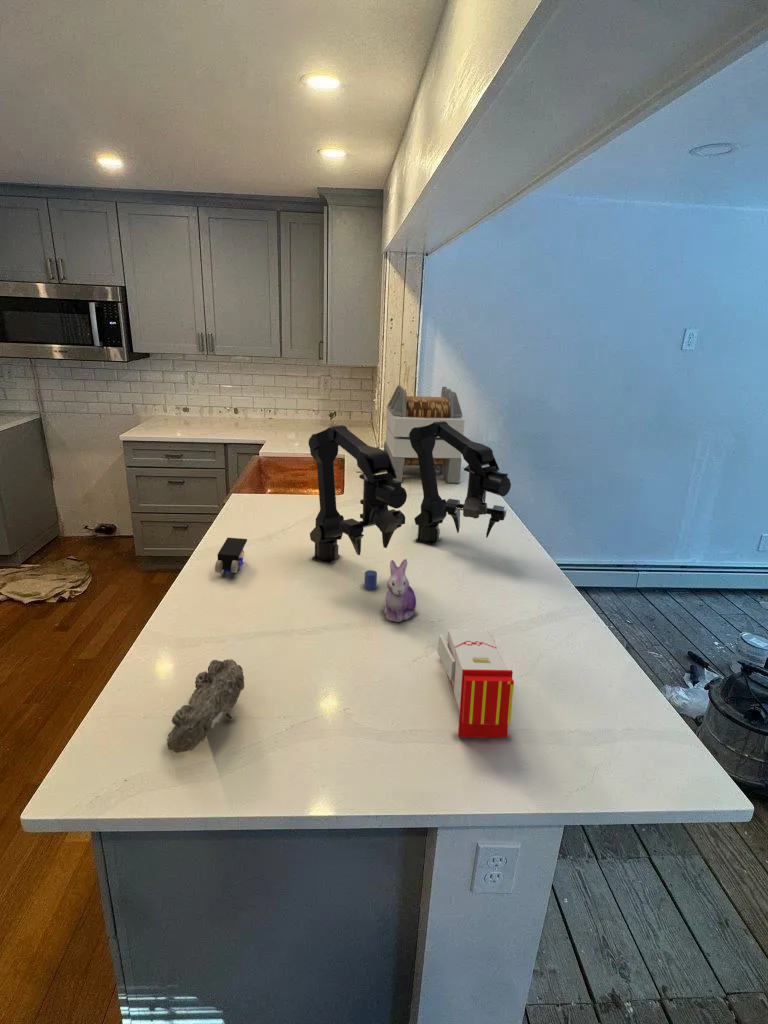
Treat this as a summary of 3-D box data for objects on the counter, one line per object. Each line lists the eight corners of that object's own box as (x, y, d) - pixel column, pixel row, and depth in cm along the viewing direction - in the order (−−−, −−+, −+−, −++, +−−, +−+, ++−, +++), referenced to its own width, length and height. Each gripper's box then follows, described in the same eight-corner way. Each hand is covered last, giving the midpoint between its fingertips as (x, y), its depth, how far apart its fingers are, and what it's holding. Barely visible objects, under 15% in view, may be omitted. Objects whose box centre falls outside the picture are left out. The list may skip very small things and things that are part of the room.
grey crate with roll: (382, 463, 289) (386, 382, 275) (445, 464, 293) (451, 384, 279) (390, 482, 257) (394, 392, 243) (460, 483, 261) (468, 394, 247)
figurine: (392, 627, 141) (395, 572, 136) (374, 608, 149) (376, 556, 144) (425, 619, 145) (429, 566, 140) (405, 601, 154) (408, 550, 149)
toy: (488, 613, 130) (523, 677, 101) (484, 667, 133) (517, 744, 104) (435, 612, 130) (455, 676, 101) (432, 666, 133) (451, 743, 103)
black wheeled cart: (238, 584, 162) (249, 557, 175) (236, 562, 158) (247, 536, 172) (215, 584, 161) (227, 556, 175) (212, 561, 158) (225, 535, 171)
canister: (361, 586, 161) (362, 572, 160) (371, 583, 163) (372, 569, 162) (368, 591, 159) (369, 576, 157) (378, 588, 161) (379, 573, 159)
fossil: (192, 660, 117) (244, 628, 112) (224, 691, 120) (276, 661, 115) (142, 746, 98) (202, 712, 93) (182, 779, 101) (242, 748, 96)
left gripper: (363, 512, 140) (361, 569, 146) (419, 500, 151) (416, 553, 157) (338, 500, 149) (337, 554, 154) (393, 489, 160) (391, 540, 165)
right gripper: (441, 490, 169) (437, 538, 174) (504, 499, 164) (498, 549, 169) (449, 481, 179) (445, 527, 184) (509, 489, 174) (503, 536, 179)
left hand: (372, 551), depth 157 cm, fingers open, 9 cm apart
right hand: (472, 534), depth 179 cm, fingers open, 9 cm apart
